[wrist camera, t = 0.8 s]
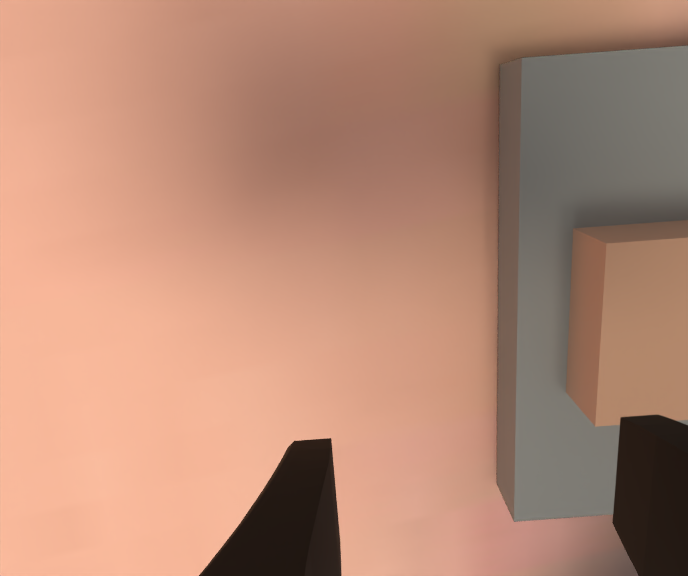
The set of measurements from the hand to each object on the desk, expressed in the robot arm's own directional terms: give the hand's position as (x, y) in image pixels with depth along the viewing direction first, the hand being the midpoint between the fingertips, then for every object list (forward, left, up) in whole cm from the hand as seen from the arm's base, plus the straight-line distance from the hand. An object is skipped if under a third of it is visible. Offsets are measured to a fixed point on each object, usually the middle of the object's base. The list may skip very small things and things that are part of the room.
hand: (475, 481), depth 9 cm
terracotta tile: (0, -7, -7) cm, 10 cm away
